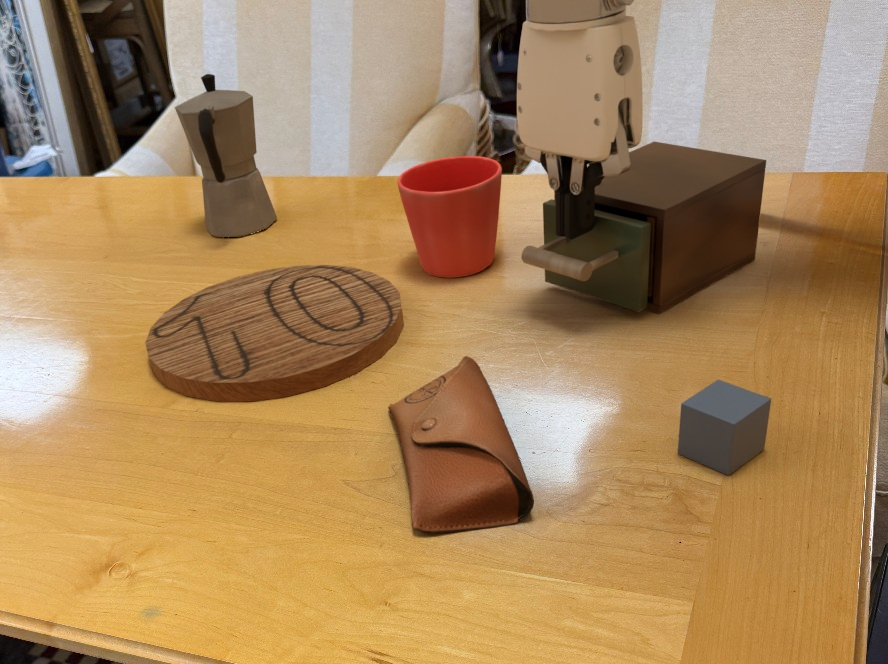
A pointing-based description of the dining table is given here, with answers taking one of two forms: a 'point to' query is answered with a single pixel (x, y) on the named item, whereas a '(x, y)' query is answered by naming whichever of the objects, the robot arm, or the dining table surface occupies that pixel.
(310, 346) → the trivet
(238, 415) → the dining table surface
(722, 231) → the cabinet
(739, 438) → the block
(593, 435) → the dining table surface
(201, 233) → the dining table surface
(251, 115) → the coffeepot
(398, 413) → the sunglasses case
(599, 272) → the drawer
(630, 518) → the dining table surface
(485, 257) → the flower pot
